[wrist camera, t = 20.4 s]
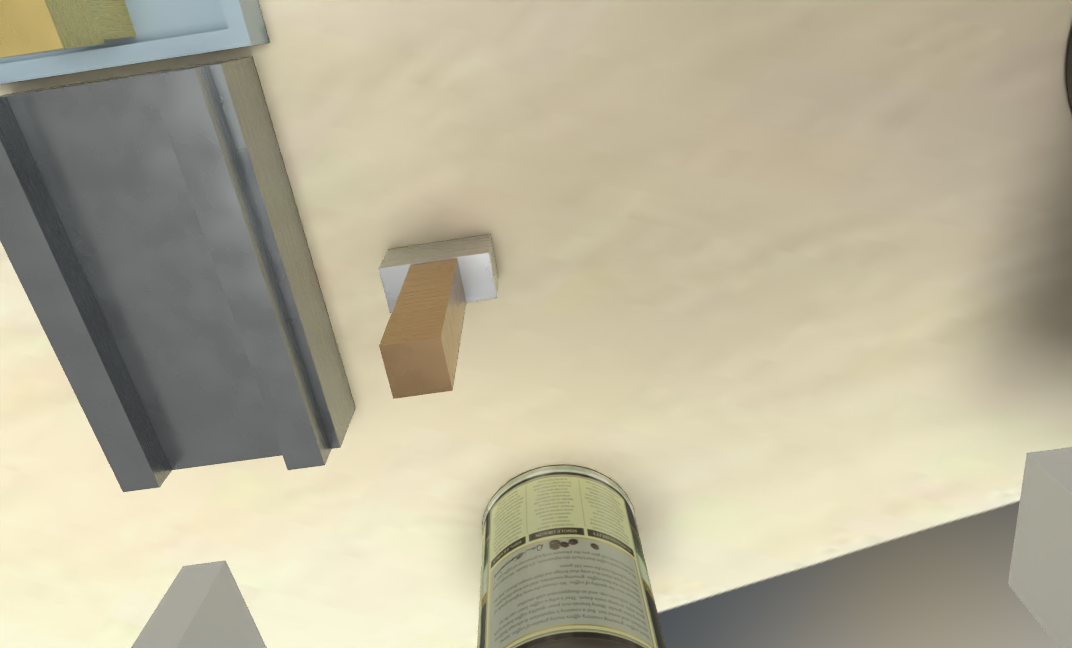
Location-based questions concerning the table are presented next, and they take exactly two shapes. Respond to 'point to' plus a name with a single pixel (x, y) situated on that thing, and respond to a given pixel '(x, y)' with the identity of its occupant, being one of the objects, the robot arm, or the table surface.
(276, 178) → the slot bed
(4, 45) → the yellow cube
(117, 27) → the yellow wooden cube
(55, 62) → the tray
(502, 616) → the coffee can
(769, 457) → the table surface
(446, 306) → the hammer
